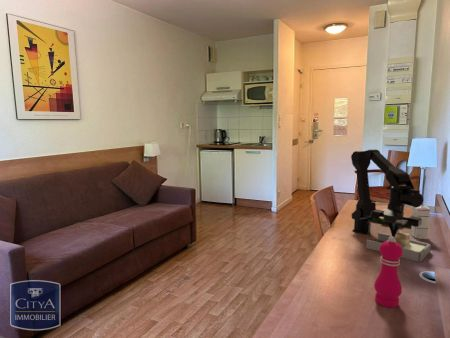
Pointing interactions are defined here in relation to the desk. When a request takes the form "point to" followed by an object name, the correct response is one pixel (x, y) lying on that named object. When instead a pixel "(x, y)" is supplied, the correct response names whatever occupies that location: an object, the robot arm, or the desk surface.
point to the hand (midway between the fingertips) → (393, 237)
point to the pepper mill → (389, 274)
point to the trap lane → (403, 247)
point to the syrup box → (423, 229)
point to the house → (407, 211)
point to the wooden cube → (402, 238)
